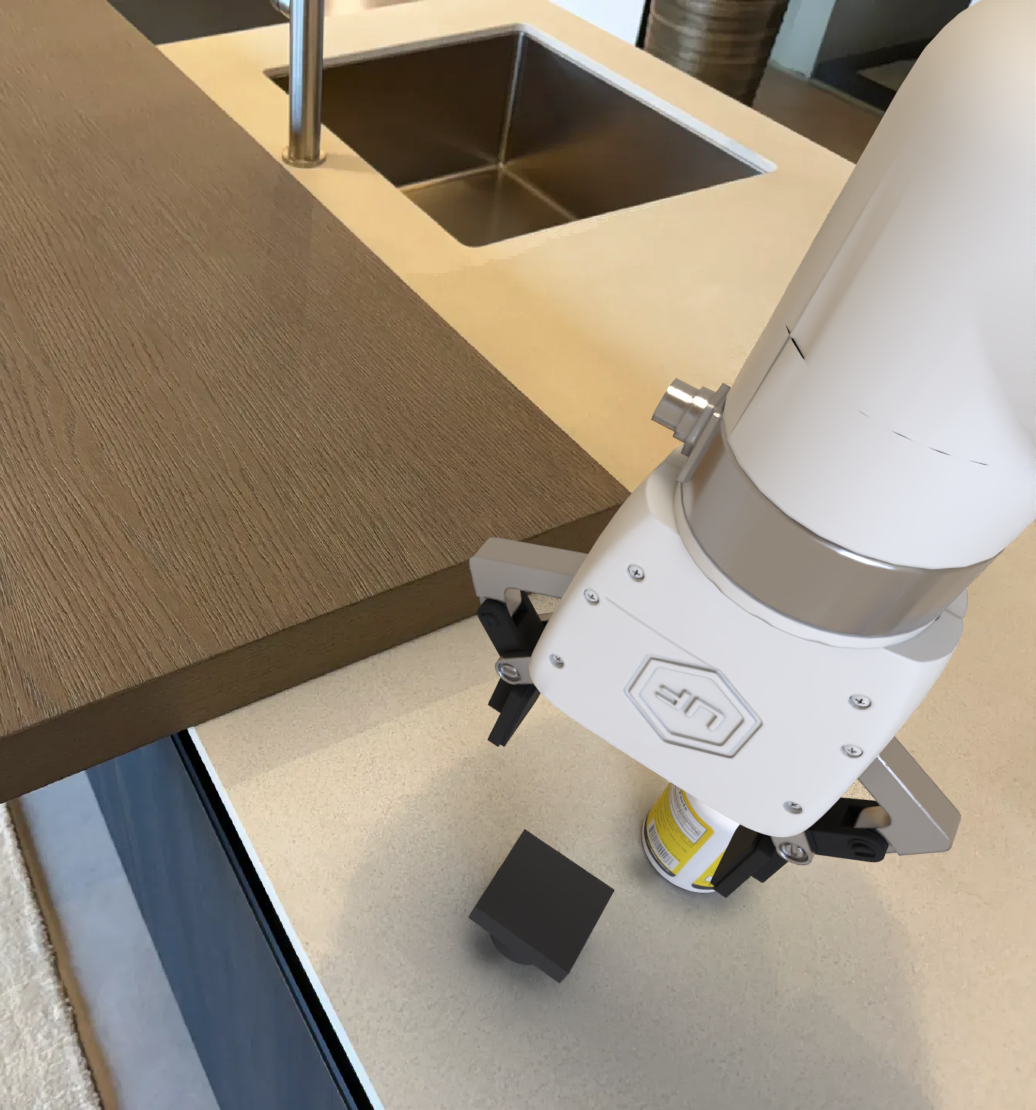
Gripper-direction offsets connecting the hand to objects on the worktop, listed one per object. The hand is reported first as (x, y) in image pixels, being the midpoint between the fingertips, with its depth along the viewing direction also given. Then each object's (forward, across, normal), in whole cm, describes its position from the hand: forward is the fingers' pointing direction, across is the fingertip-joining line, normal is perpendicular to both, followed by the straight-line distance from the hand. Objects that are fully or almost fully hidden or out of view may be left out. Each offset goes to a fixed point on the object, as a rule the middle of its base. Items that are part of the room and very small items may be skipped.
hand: (617, 789), depth 41 cm
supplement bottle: (+16, +6, +10) cm, 19 cm away
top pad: (+16, 0, 0) cm, 16 cm away
